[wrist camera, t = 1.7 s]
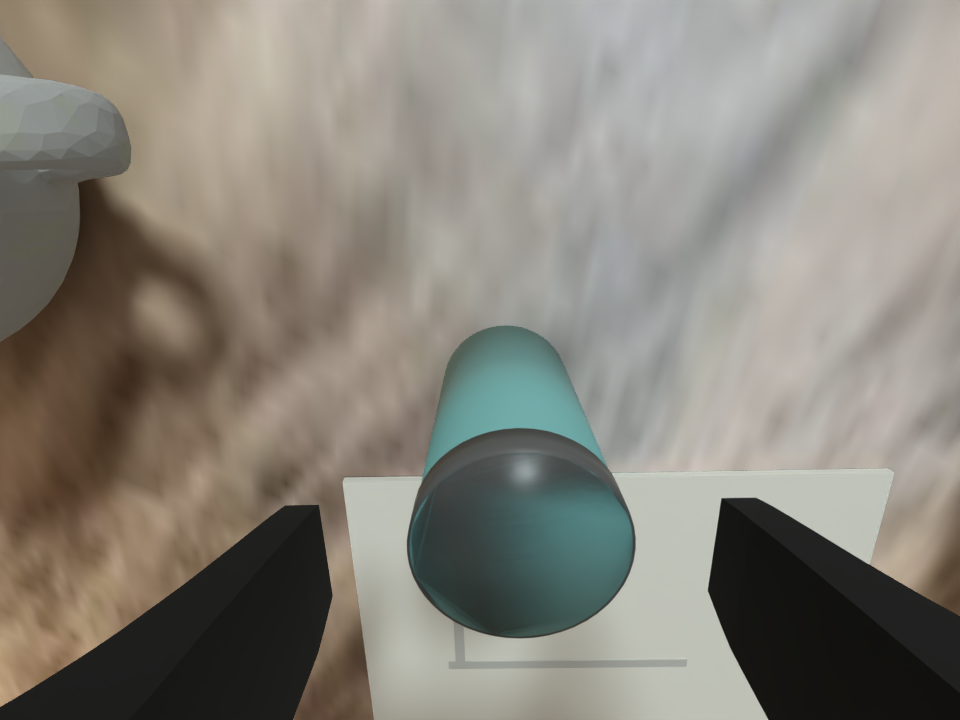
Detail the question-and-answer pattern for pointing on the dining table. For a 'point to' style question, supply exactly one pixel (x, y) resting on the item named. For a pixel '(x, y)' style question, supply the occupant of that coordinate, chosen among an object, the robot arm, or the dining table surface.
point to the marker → (516, 496)
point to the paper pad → (609, 634)
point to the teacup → (46, 181)
